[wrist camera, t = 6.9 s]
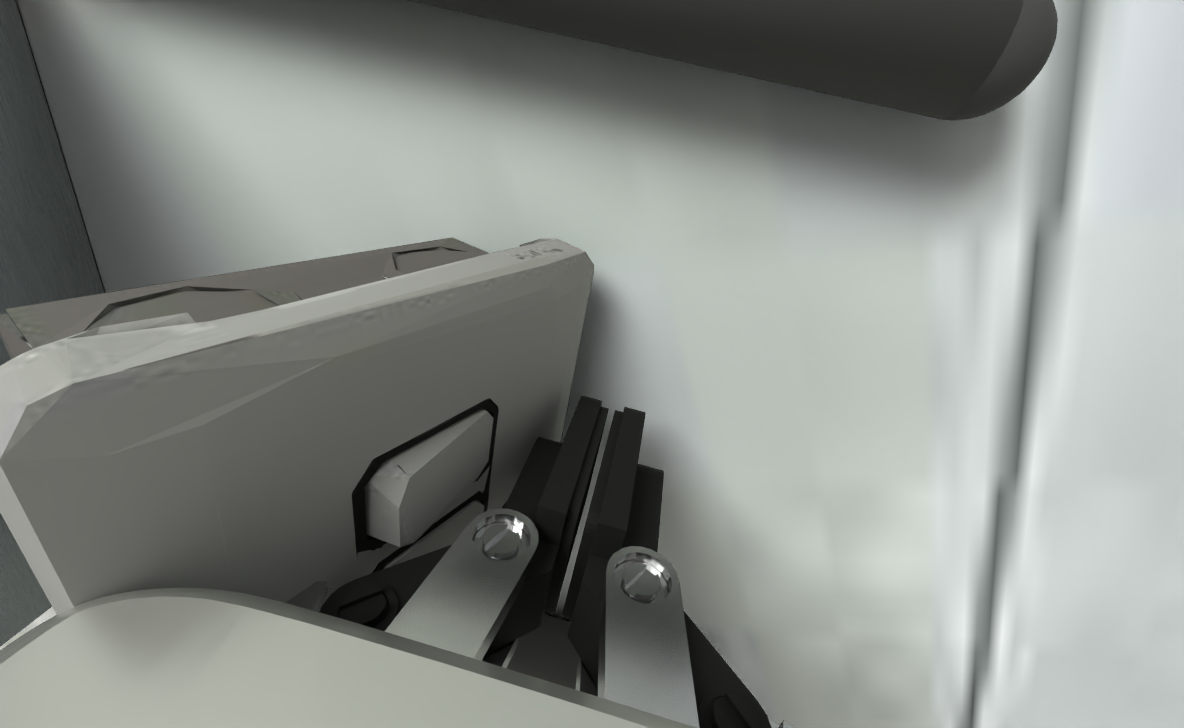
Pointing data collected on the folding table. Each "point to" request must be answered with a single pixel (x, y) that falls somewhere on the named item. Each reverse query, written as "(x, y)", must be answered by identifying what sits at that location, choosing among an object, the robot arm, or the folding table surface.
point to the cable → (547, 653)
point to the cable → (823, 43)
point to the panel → (32, 253)
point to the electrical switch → (282, 416)
